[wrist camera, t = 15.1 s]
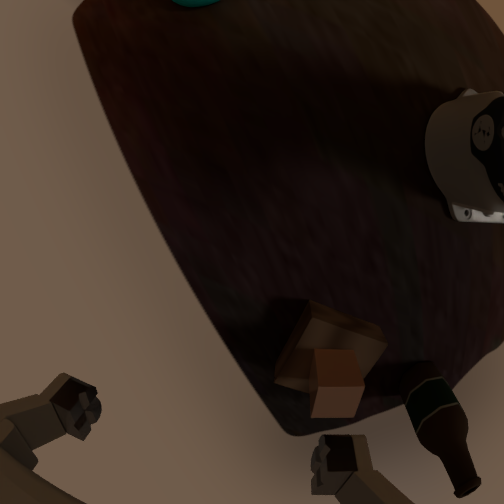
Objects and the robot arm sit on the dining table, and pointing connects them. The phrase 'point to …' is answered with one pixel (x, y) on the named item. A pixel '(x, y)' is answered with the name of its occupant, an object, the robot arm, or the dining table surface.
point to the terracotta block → (335, 383)
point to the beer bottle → (439, 423)
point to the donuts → (195, 2)
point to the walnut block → (326, 343)
